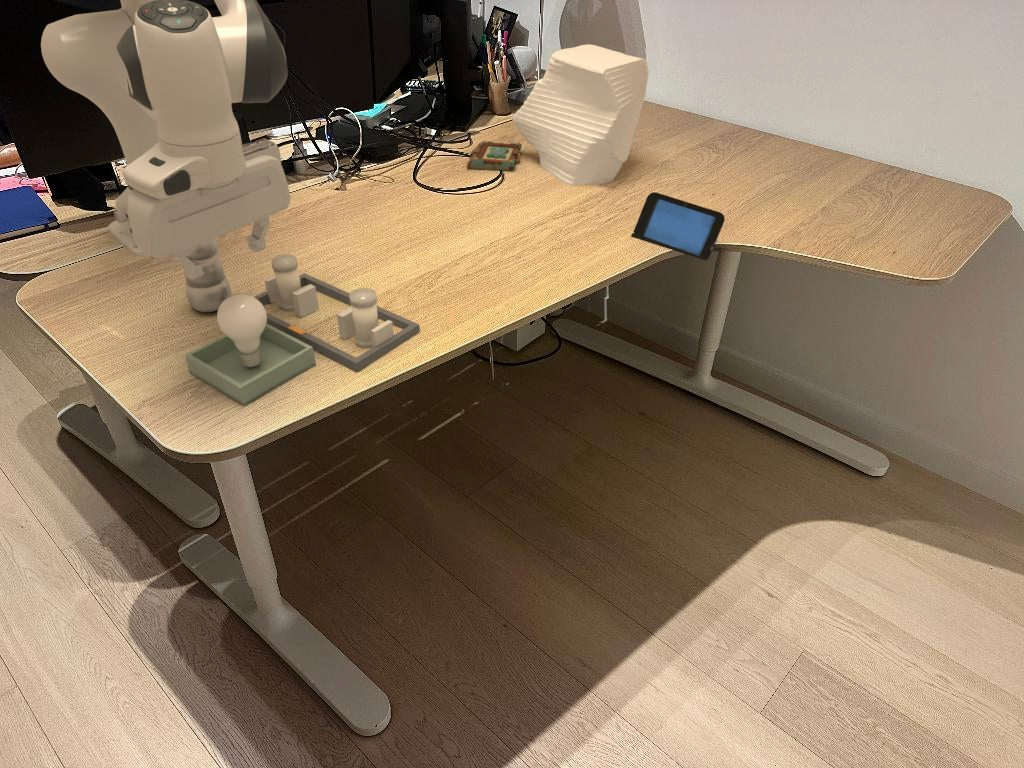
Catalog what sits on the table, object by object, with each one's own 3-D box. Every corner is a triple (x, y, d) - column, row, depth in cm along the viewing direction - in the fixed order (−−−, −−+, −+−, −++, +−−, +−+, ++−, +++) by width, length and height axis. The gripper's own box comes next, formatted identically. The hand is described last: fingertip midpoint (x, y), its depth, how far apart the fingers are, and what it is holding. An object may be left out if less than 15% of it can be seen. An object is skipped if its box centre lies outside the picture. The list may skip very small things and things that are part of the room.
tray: (189, 372, 104) (184, 355, 103) (261, 335, 112) (257, 318, 111) (244, 406, 99) (240, 388, 97) (315, 364, 107) (312, 347, 105)
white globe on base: (275, 306, 119) (265, 261, 114) (293, 296, 122) (284, 252, 117) (292, 313, 118) (283, 268, 113) (310, 303, 120) (301, 258, 115)
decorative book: (461, 184, 163) (460, 162, 160) (476, 157, 177) (476, 135, 174) (521, 189, 161) (522, 166, 158) (532, 161, 175) (533, 139, 172)
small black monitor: (605, 260, 135) (610, 212, 129) (643, 236, 143) (649, 189, 138) (682, 288, 127) (691, 238, 122) (717, 260, 136) (727, 213, 130)
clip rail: (241, 312, 118) (236, 289, 115) (305, 281, 126) (302, 259, 124) (357, 372, 105) (354, 348, 103) (419, 333, 114) (418, 310, 111)
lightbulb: (280, 352, 108) (267, 285, 101) (270, 378, 103) (256, 309, 96) (235, 352, 108) (220, 285, 101) (223, 378, 103) (206, 309, 96)
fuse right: (349, 342, 111) (343, 295, 107) (368, 331, 114) (363, 285, 109) (367, 351, 110) (362, 304, 105) (386, 340, 112) (381, 293, 107)
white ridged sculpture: (578, 203, 155) (588, 73, 139) (508, 163, 173) (510, 43, 157) (655, 184, 164) (672, 60, 149) (581, 147, 182) (589, 33, 167)
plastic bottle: (181, 309, 118) (147, 187, 106) (216, 292, 123) (187, 173, 111) (208, 321, 115) (176, 198, 103) (243, 303, 120) (216, 183, 108)
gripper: (260, 128, 96) (276, 227, 104) (107, 175, 82) (141, 284, 91) (292, 140, 93) (307, 241, 101) (140, 190, 79) (171, 302, 88)
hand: (227, 262), depth 96 cm, fingers open, 8 cm apart
